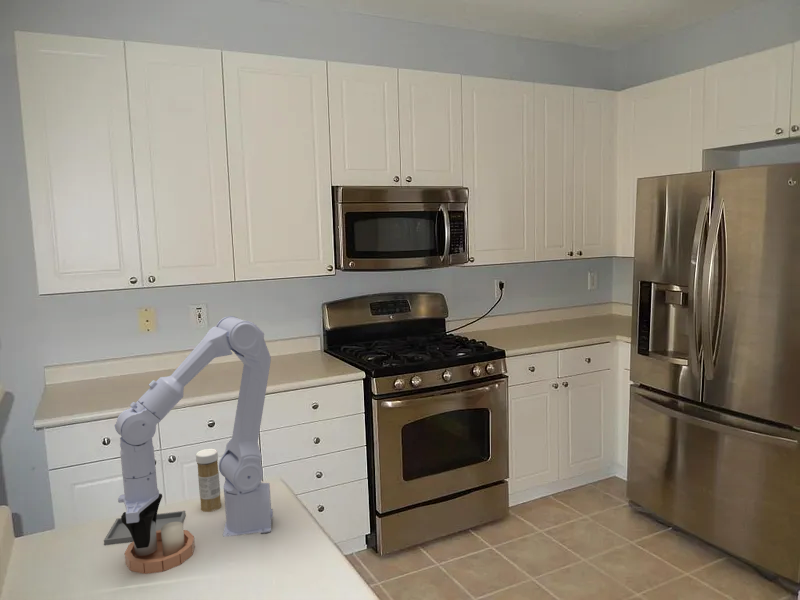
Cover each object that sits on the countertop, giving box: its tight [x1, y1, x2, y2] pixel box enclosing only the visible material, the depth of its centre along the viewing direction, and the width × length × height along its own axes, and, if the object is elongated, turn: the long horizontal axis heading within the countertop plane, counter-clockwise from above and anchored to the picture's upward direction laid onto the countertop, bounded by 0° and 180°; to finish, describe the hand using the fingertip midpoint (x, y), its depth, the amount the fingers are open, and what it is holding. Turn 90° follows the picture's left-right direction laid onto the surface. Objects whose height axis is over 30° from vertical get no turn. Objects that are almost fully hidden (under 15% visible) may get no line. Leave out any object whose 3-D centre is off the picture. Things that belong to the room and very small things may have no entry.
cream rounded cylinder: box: [161, 522, 185, 557], centre depth 113 cm, size 4×4×5 cm
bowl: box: [124, 529, 196, 575], centre depth 113 cm, size 12×12×2 cm
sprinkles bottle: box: [195, 448, 223, 513], centre depth 131 cm, size 5×5×13 cm
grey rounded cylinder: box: [134, 520, 158, 556], centre depth 112 cm, size 4×4×5 cm
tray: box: [103, 510, 187, 546], centre depth 123 cm, size 14×9×2 cm, turn 101°
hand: (145, 540), depth 112 cm, fingers closed on grey rounded cylinder, 4 cm apart
